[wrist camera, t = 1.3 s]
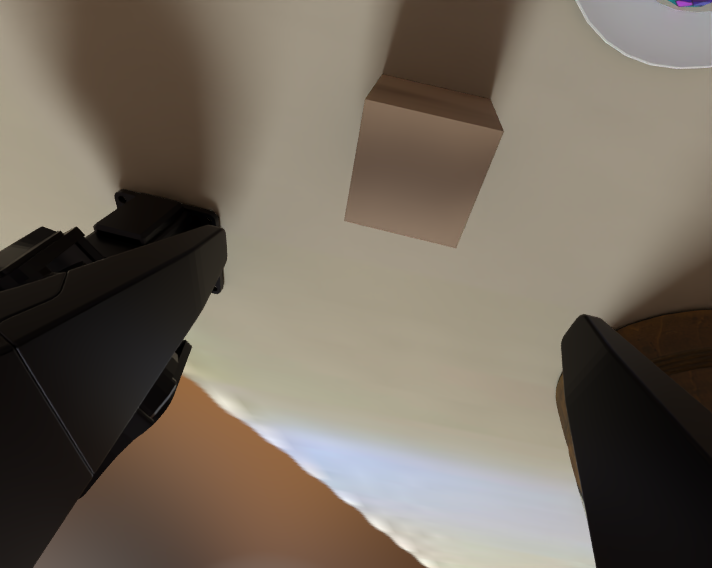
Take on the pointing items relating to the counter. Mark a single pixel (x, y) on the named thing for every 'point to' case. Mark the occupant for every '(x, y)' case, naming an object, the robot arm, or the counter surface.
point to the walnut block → (421, 159)
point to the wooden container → (664, 359)
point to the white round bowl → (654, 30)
